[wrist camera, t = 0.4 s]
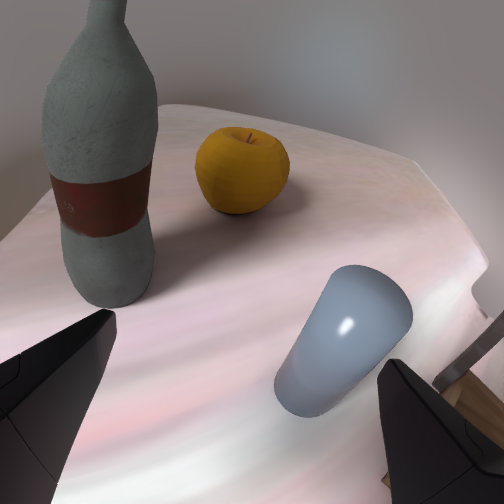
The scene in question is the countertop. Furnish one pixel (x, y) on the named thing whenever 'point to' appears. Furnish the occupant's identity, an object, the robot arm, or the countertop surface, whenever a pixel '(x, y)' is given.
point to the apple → (241, 169)
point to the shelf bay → (473, 388)
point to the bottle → (103, 158)
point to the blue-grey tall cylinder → (342, 339)
